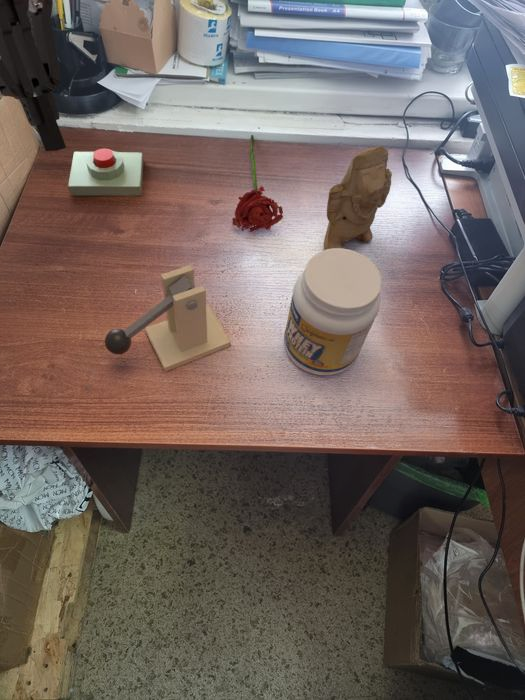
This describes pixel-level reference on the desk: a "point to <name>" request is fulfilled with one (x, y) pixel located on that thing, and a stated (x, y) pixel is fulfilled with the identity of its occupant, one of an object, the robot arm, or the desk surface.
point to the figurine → (358, 198)
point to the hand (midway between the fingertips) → (55, 149)
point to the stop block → (106, 175)
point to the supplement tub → (332, 311)
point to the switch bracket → (186, 325)
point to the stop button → (103, 158)
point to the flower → (256, 207)
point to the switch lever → (144, 319)
